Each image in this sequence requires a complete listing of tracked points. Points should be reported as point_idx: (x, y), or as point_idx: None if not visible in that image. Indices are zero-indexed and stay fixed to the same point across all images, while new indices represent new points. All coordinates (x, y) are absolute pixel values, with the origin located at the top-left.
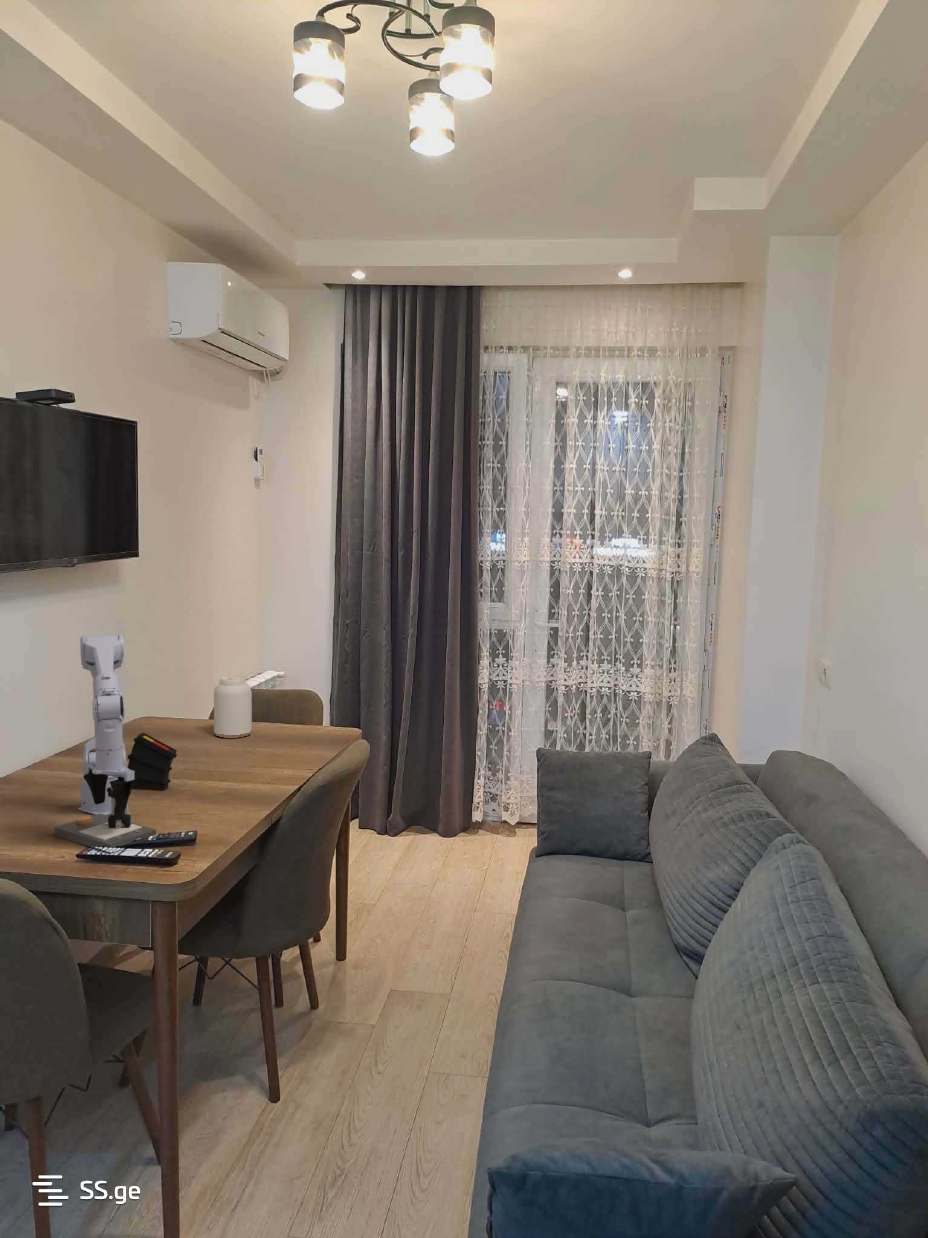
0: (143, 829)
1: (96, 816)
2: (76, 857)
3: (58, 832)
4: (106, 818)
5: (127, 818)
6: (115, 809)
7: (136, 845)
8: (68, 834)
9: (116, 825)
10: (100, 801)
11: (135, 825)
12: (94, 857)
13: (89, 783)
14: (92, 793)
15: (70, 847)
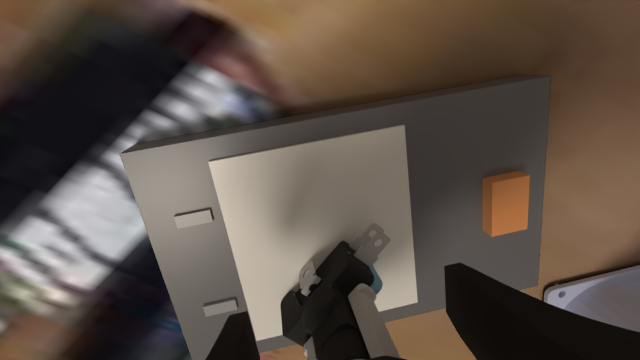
0: None
1: (518, 262)
2: (195, 5)
3: (509, 80)
4: None
5: (287, 326)
6: (338, 320)
7: None
8: (442, 93)
9: (311, 268)
10: (451, 298)
11: None
12: (137, 68)
13: (601, 341)
14: (511, 295)
15: (342, 53)
